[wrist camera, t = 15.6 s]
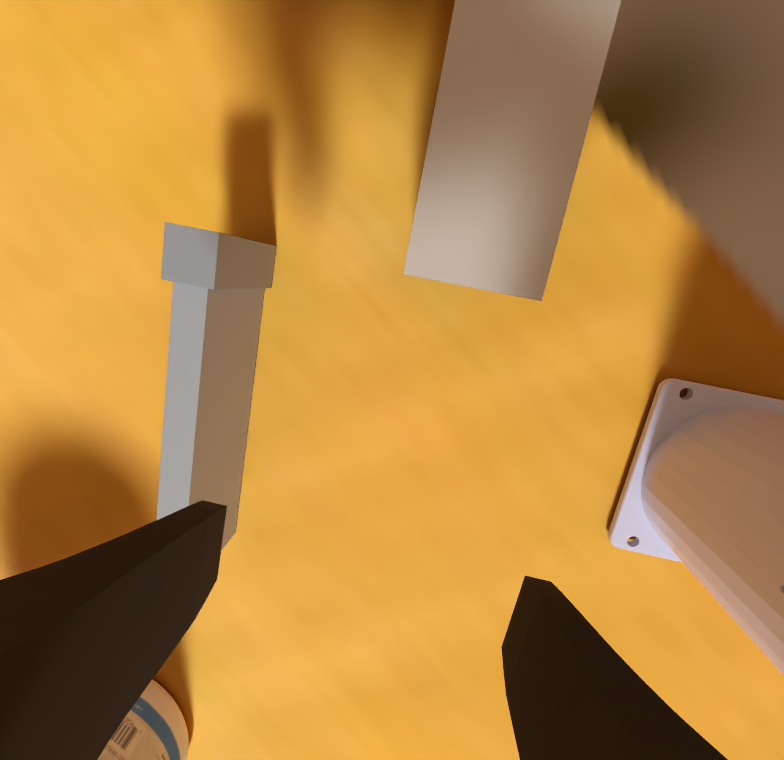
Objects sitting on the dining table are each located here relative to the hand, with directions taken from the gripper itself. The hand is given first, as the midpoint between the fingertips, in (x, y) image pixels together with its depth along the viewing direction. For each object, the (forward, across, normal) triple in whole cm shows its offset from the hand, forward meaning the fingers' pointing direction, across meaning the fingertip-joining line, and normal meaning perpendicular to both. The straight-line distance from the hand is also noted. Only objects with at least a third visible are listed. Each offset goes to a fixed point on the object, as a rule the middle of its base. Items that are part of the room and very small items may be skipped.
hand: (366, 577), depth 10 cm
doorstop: (+10, -1, -11) cm, 15 cm away
